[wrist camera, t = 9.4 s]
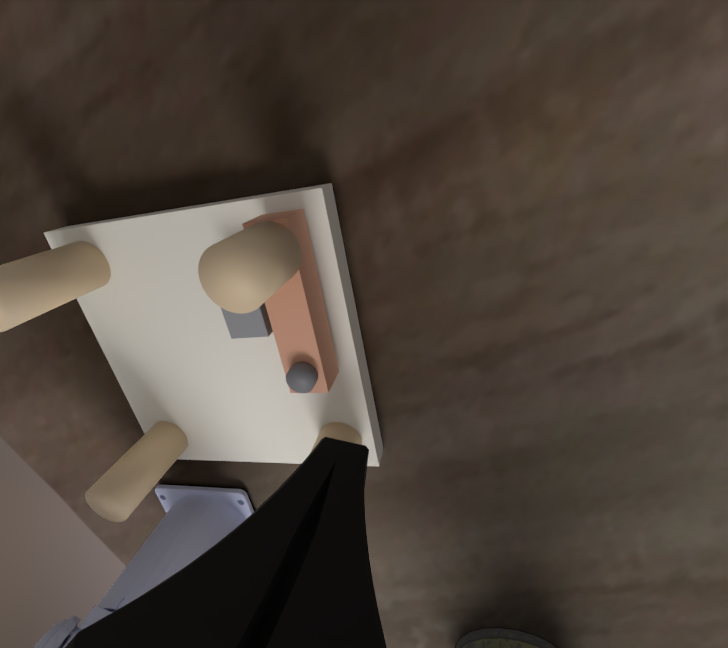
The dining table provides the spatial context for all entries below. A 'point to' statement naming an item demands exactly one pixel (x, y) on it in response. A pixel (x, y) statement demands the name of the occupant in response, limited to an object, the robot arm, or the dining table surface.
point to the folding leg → (276, 292)
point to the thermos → (501, 639)
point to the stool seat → (198, 340)
